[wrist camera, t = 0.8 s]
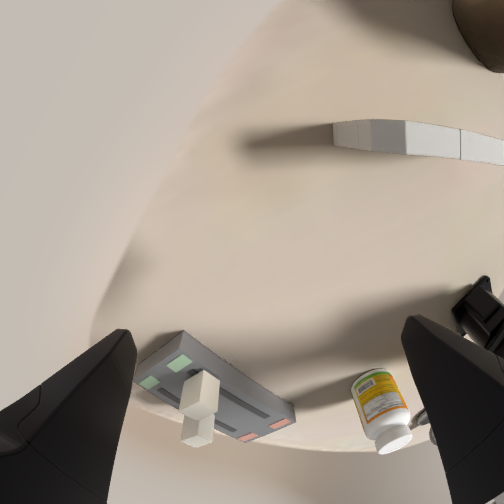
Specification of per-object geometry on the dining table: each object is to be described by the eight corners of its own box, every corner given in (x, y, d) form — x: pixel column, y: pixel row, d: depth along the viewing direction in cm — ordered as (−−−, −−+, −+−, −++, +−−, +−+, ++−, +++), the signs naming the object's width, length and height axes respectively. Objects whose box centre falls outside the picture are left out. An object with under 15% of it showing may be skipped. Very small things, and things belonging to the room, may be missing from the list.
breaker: (219, 380, 23) (217, 411, 20) (200, 391, 24) (196, 420, 21) (203, 369, 23) (199, 401, 19) (184, 381, 23) (178, 411, 20)
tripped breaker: (214, 415, 26) (212, 442, 22) (198, 422, 26) (195, 447, 23) (200, 407, 25) (197, 435, 22) (184, 414, 26) (180, 441, 22)
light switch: (332, 122, 17) (382, 117, 10) (454, 134, 17) (518, 144, 10) (333, 145, 18) (384, 154, 11) (454, 152, 18) (518, 169, 11)
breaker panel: (293, 405, 30) (296, 422, 27) (245, 427, 32) (245, 443, 29) (184, 330, 24) (178, 349, 22) (138, 364, 26) (132, 381, 24)
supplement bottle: (381, 392, 30) (405, 450, 21) (345, 397, 30) (364, 461, 21) (396, 364, 28) (427, 426, 19) (357, 370, 27) (383, 439, 18)
